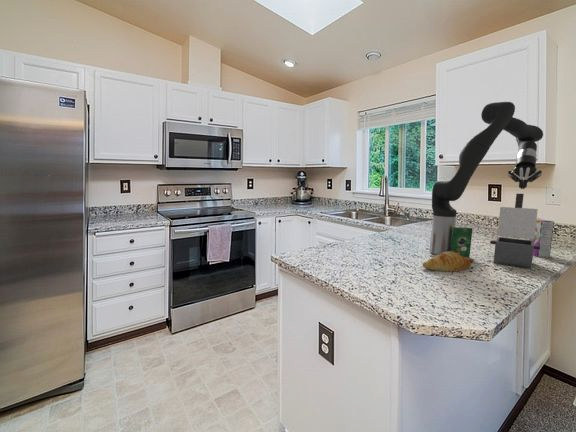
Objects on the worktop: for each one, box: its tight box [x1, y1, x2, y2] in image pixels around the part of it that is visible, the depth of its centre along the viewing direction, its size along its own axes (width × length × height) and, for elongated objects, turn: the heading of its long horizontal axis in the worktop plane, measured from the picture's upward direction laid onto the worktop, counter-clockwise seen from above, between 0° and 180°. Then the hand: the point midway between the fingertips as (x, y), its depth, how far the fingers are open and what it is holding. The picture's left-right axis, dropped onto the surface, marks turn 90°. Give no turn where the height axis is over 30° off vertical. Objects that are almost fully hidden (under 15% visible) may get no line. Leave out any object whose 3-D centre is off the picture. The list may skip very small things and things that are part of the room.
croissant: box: [422, 251, 474, 273], centre depth 114 cm, size 21×10×8 cm
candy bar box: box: [524, 216, 555, 258], centre depth 136 cm, size 11×5×16 cm, turn 168°
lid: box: [496, 193, 539, 240], centre depth 126 cm, size 12×18×1 cm
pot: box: [489, 236, 540, 270], centre depth 122 cm, size 16×12×9 cm
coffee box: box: [451, 226, 473, 258], centre depth 130 cm, size 8×3×13 cm, turn 103°
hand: (522, 187), depth 136 cm, fingers closed
